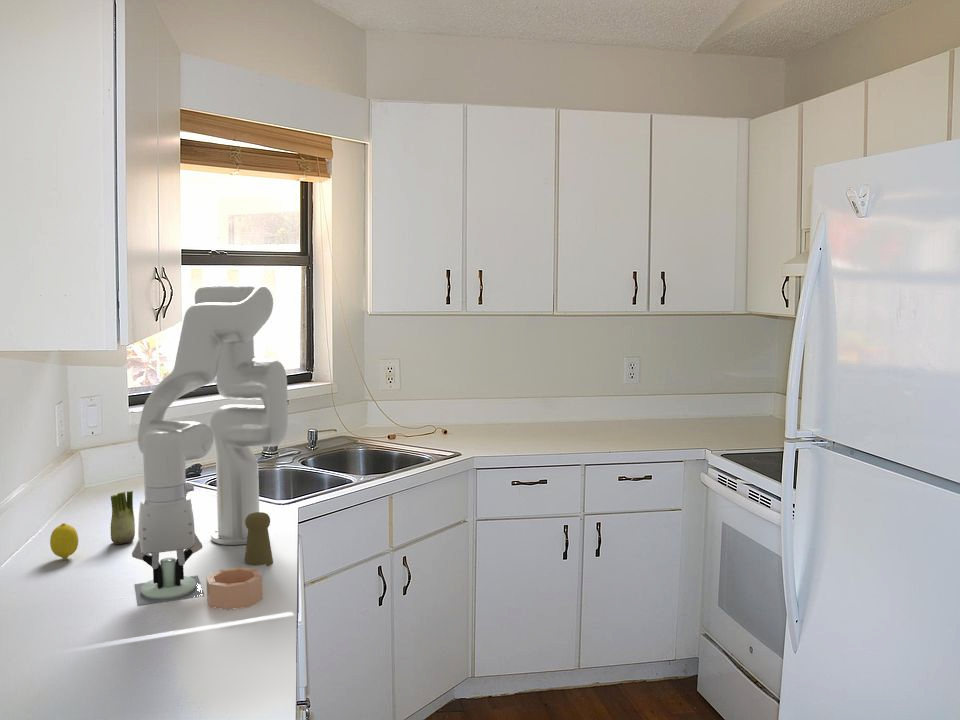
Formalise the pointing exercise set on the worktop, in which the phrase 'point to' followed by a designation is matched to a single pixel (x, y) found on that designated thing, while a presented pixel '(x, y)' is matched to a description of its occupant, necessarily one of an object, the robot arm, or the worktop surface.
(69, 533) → the lemon
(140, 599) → the mat
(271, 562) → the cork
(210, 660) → the worktop surface
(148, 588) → the lid
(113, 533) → the fennel bulb
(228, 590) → the bowl
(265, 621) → the worktop surface
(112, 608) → the worktop surface
